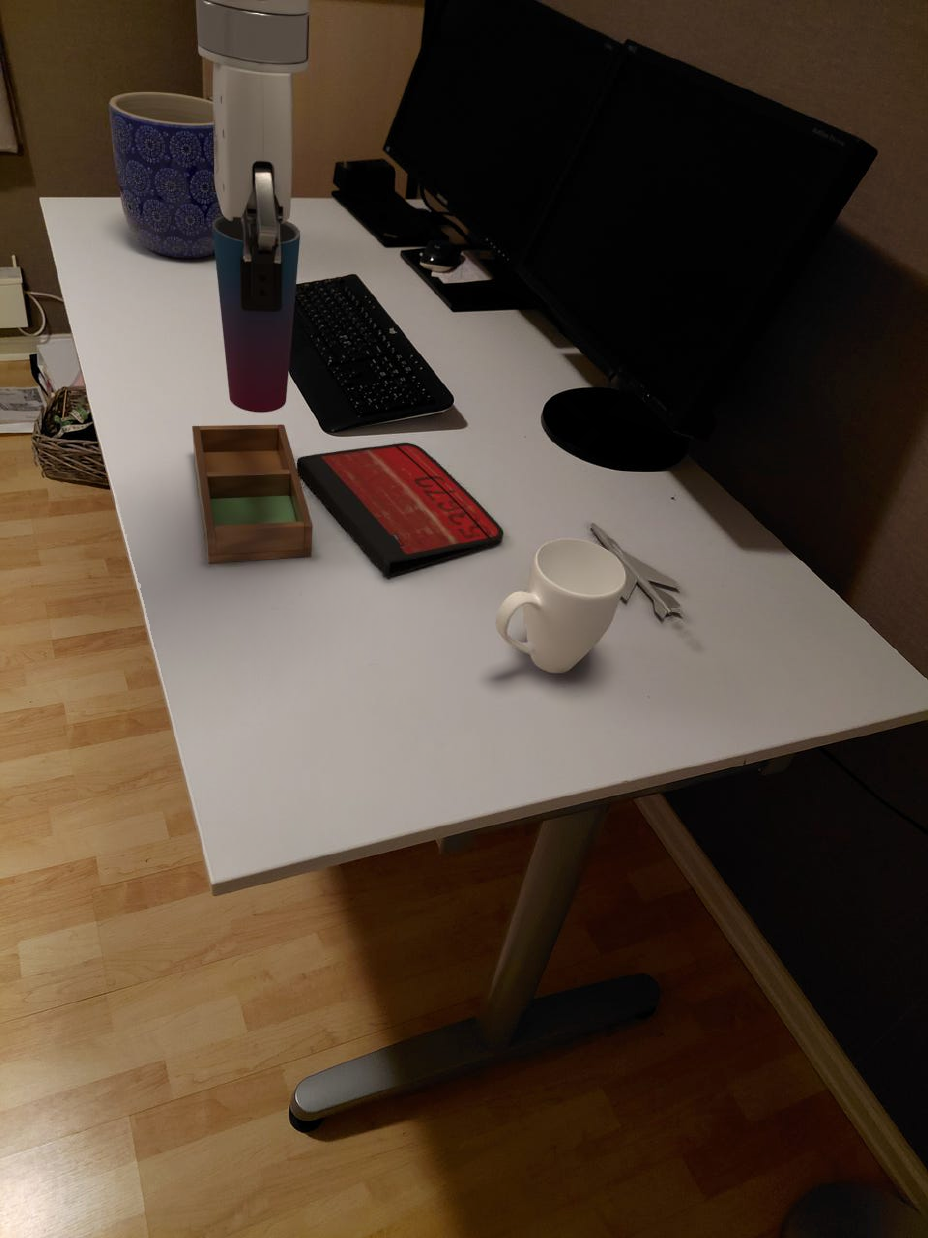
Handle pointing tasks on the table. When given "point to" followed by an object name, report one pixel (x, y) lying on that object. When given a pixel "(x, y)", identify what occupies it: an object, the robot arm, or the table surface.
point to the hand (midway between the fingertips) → (256, 290)
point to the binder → (399, 505)
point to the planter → (166, 170)
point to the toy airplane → (642, 577)
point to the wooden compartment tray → (250, 494)
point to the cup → (255, 321)
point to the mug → (565, 602)
